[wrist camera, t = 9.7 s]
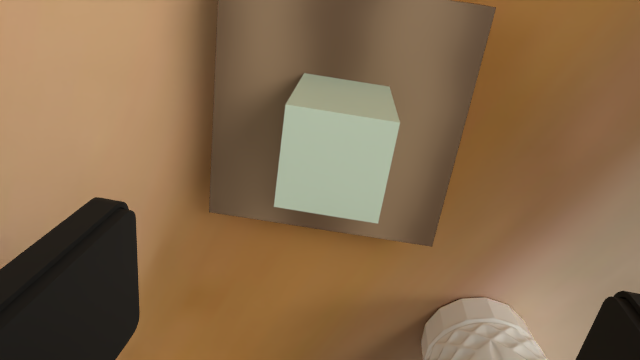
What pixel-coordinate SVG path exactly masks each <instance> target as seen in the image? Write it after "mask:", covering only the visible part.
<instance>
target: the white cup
mask: <svg viewBox="0 0 640 360" xmlns="http://www.w3.org/2000/svg"><path fill="white" fill-rule="evenodd" d="M421 348H422V356H423V360H548V359H547V357H546V355H545V354H544V352H543V351H542V350H541V348H540V347H539V345H538V344H537V343H536V341H535V340H534V338H533V336H532V334H531V332H530V330H529V329H528V327H527V325H526V323H525V321H524V320H523V319H522V318H521V317H520V316H519V315H518V314H517V313H516V312H515V311H514V310H513V309H512V308H511V307H510V306H509V305H507V304H504V303H501V302H498V301H495V300H492V299H489V298H486V297H482V298H464V299H459V300H457V301H455V302H452V303H450V304H448V305H446V306H443V307H441V308H439V309H438V310H437V312H436V313H435V314H434V315H433V316H432V317H431V318H430V319H429V320H428V321H427V322H426V324H425V327H424V331H423V336H422V340H421Z"/></svg>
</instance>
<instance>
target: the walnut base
mask: <svg viewBox="0 0 640 360" xmlns="http://www.w3.org/2000/svg"><path fill="white" fill-rule="evenodd" d="M495 9H496V7H491V6H485V5H480V4H473V3H466V2H459V1H452V0H218V12H217V36H216V60H215V84H214V108H213V132H212V156H211V180H210V203H209V212H212V213H218V214H225V215H231V216H238V217H244V218H251V219H257V220H264V221H270V222H276V223H283V224H289V225H296V226H302V227H309V228H315V229H322V230H328V231H335V232H341V233H348V234H354V235H361V236H367V237H373V238H380V239H386V240H393V241H399V242H406V243H412V244H419V245H425V246H432V245H433V241H434V237H435V234H436V230H437V226H438V222H439V219H440V215H441V211H442V207H443V204H444V200H445V196H446V192H447V189H448V185H449V181H450V177H451V174H452V170H453V166H454V163H455V159H456V155H457V151H458V148H459V144H460V140H461V136H462V133H463V129H464V125H465V121H466V118H467V114H468V110H469V107H470V103H471V99H472V95H473V92H474V88H475V84H476V80H477V77H478V73H479V69H480V65H481V62H482V58H483V54H484V51H485V47H486V43H487V39H488V36H489V32H490V28H491V24H492V21H493V17H494V13H495ZM304 73H306V74H313V75H319V76H325V77H332V78H338V79H344V80H351V81H357V82H363V83H370V84H376V85H382V86H389V87H390V90H391V94H392V97H393V100H394V104H395V107H396V111H397V114H398V117H399V121H400V125H399V130H398V135H397V139H396V144H395V148H394V153H393V157H392V162H391V166H390V171H389V176H388V180H387V185H386V189H385V194H384V198H383V203H382V208H381V212H380V217H379V221H378V224H377V223H371V222H365V221H359V220H352V219H346V218H340V217H334V216H328V215H322V214H315V213H309V212H303V211H297V210H291V209H285V208H278V207H274V201H275V192H276V183H277V174H278V166H279V157H280V148H281V139H282V131H283V122H284V113H285V105H286V103H287V101H288V99H289V98H290V96H291V94H292V93H293V91H294V89H295V88H296V86H297V84H298V83H299V81H300V79H301V78H302V76H303V74H304Z"/></svg>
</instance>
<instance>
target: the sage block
mask: <svg viewBox="0 0 640 360" xmlns="http://www.w3.org/2000/svg"><path fill="white" fill-rule="evenodd" d="M399 125H400V121H399V117H398V114H397V111H396V107H395V104H394V100H393V97H392V94H391V90H390V87H389V86H382V85H376V84H370V83H363V82H357V81H351V80H344V79H338V78H332V77H325V76H319V75H313V74H306V73H304V74H303V76H302V78H301V79H300V81H299V83H298V84H297V86H296V88H295V89H294V91H293V93H292V94H291V96H290V98H289V99H288V101H287V103H286V105H285V113H284V122H283V131H282V139H281V148H280V157H279V166H278V174H277V183H276V192H275V201H274V207H278V208H285V209H291V210H297V211H303V212H309V213H315V214H322V215H328V216H334V217H340V218H346V219H352V220H359V221H365V222H371V223H377V224H378V221H379V217H380V212H381V208H382V203H383V198H384V194H385V189H386V185H387V180H388V176H389V171H390V166H391V162H392V157H393V153H394V148H395V144H396V139H397V135H398V130H399Z"/></svg>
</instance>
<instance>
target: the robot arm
mask: <svg viewBox="0 0 640 360" xmlns="http://www.w3.org/2000/svg"><path fill="white" fill-rule="evenodd" d="M138 321H139V290H138V264H137V238H136V217H135V213H134V212H133V211H131V210H129V209H128V206H127V204H126V203H125V202H121V201H115V200H110V199H104V198H96V197H95V198H93V199H92V200H90V201H89V202H88V203H86V204H85V205H84V206H82V207H81V208H80V209H79V210H77V211H76V212H75V213H73V214H72V215H71V216H69V217H68V218H67V219H65V220H64V221H63V222H62V223H60V224H59V225H58V226H56V227H55V228H54V229H52V230H51V231H50V232H49V233H47V234H46V235H45V236H43V237H42V238H41V239H39V240H38V241H37V242H35V243H34V244H33V245H32V246H30V247H29V248H28V249H26V250H25V251H24V252H22V253H21V254H20V255H19V256H17V257H16V258H15V259H13V260H12V261H11V262H9V263H8V264H7V265H6V266H4V267H3V268H2V269H0V360H115V359H116V358H117V357H118V355H119V354H120V352H121V351H122V349H123V348H124V347H125V345H126V344H127V342H128V341H129V339H130V338H131V336H132V335H133V333H134V332H135V330H136V328H137V325H138ZM576 360H640V294H637V293H631V292H626V291H620V292H618V293H617V294H615V295H614V297H608V298H607V299H605V301H604V302H603V304H602V306H601V308H600V310H599V312H598V314H597V317H596V319H595V321H594V323H593V325H592V327H591V329H590V331H589V333H588V335H587V337H586V339H585V341H584V344H583V346H582V348H581V350H580V352H579V354H578V356H577V358H576Z"/></svg>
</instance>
